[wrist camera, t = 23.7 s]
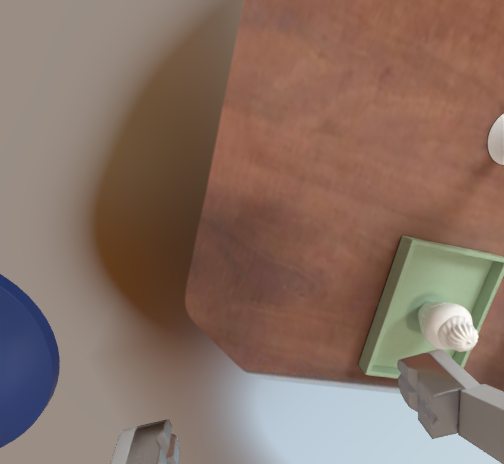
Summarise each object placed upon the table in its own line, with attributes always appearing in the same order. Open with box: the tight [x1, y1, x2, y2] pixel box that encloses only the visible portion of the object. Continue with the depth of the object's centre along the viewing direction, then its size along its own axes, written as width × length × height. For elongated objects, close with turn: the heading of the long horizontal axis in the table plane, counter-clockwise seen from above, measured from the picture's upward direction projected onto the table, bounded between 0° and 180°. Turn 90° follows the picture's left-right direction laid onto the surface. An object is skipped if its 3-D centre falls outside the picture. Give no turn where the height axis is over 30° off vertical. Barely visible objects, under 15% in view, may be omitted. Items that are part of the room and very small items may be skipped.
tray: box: [358, 236, 504, 378], centre depth 39 cm, size 19×14×2 cm
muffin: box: [417, 302, 478, 352], centre depth 36 cm, size 6×6×7 cm
